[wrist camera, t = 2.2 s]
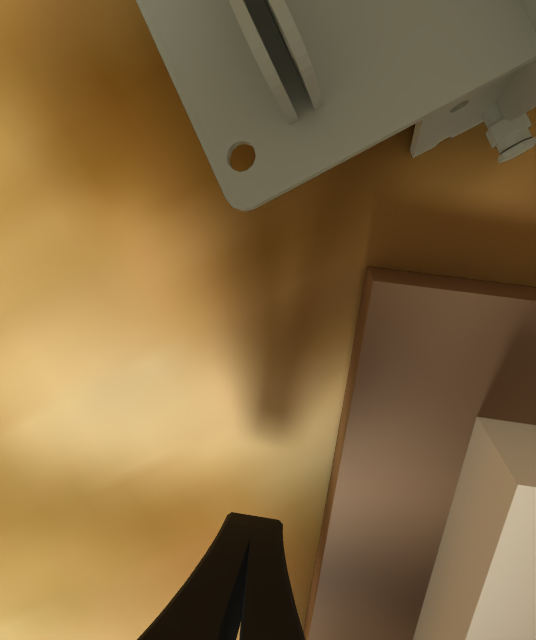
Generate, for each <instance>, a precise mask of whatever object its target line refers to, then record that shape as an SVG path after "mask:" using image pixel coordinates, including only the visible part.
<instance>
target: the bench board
mask: <svg viewBox="0 0 536 640" xmlns="http://www.w3.org/2000/svg"><path fill="white" fill-rule="evenodd" d="M476 417H482V418H489V419H496V420H503V421H510V422H517V423H524V424H531V425H536V287H528V286H520V285H512V284H504V283H496V282H488V281H479V280H471V279H463V278H455V277H447V276H439V275H430V274H422V273H414V272H406V271H398V270H390V269H382V268H373V267H367V272H366V277H365V283H364V289H363V295H362V300H361V306H360V312H359V317H358V323H357V329H356V334H355V340H354V346H353V352H352V357H351V363H350V369H349V374H348V380H347V386H346V391H345V397H344V403H343V409H342V414H341V420H340V426H339V431H338V437H337V443H336V448H335V454H334V460H333V466H332V471H331V477H330V483H329V488H328V494H327V500H326V505H325V511H324V517H323V523H322V528H321V534H320V540H319V545H318V551H317V557H316V562H315V568H314V574H313V580H312V585H311V591H310V597H309V602H308V608H307V614H306V619H305V625H304V631H303V633H304V636H305V639H306V640H413V637H414V634H415V630H416V627H417V623H418V620H419V616H420V613H421V609H422V606H423V602H424V599H425V595H426V592H427V588H428V585H429V581H430V578H431V574H432V571H433V568H434V564H435V561H436V557H437V554H438V550H439V547H440V543H441V540H442V536H443V533H444V529H445V526H446V522H447V519H448V515H449V512H450V508H451V505H452V501H453V498H454V494H455V491H456V487H457V484H458V480H459V477H460V473H461V470H462V466H463V463H464V459H465V456H466V452H467V449H468V445H469V442H470V438H471V435H472V431H473V428H474V424H475V421H476Z"/></svg>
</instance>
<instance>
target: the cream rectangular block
mask: <svg viewBox="0 0 536 640" xmlns="http://www.w3.org/2000/svg"><path fill="white" fill-rule="evenodd" d="M413 640H536V425H531V424H524V423H517V422H510V421H503V420H496V419H489V418H482V417H476V421H475V424H474V428H473V431H472V435H471V438H470V442H469V445H468V449H467V452H466V456H465V459H464V463H463V466H462V470H461V473H460V477H459V480H458V484H457V487H456V491H455V494H454V498H453V501H452V505H451V508H450V512H449V515H448V519H447V522H446V526H445V529H444V533H443V536H442V540H441V543H440V547H439V550H438V554H437V557H436V561H435V564H434V568H433V571H432V574H431V578H430V581H429V585H428V588H427V592H426V595H425V599H424V602H423V606H422V609H421V613H420V616H419V620H418V623H417V627H416V630H415V634H414V637H413Z"/></svg>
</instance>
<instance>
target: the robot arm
mask: <svg viewBox="0 0 536 640" xmlns="http://www.w3.org/2000/svg"><path fill="white" fill-rule="evenodd" d="M240 623H241V627H240V639H239V640H306V639H305V636H304V633H303V630H302V626H301V623H300V620H299V616H298V613H297V609H296V605H295V602H294V598H293V593H292V589H291V585H290V581H289V576H288V571H287V566H286V560H285V554H284V546H283V524H282V523H281V522H280V521H279V520H276V519H270V518H264V517H258V516H252V515H245V514H239V513H233V512H232V513H230V514H228V515H227V517H226V519H225V521H224V523H223V525H222V527H221V529H220V531H219V532H218V534H217V536H216V538H215V539H214V541H213V543H212V544H211V546H210V547H209V549H208V551H207V552H206V554H205V555H204V557H203V558H202V559H201V561H200V562H199V564H198V565H197V567H196V568H195V570H194V571H193V572H192V574H191V575H190V577H189V578H188V579H187V581H186V582H185V583H184V585H183V586H182V587H181V588H180V590H179V591H178V592H177V593H176V595H175V596H174V597H173V599H172V600H171V601H170V602H169V604H168V605H167V606H166V607H165V609H164V610H163V611H162V612H161V613H160V614H159V616H158V617H157V618H156V619H155V620H154V621H153V623H152V624H151V625H150V626H149V627H148V628H147V629H146V630H145V631H144V632H143V634H142V635H141V636H140V637H139V638H138V639H137V640H236V638H237V634H238V630H239V626H240Z"/></svg>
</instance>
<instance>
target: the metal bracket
mask: <svg viewBox="0 0 536 640" xmlns="http://www.w3.org/2000/svg"><path fill="white" fill-rule="evenodd" d="M136 2H137V4H138V6H139V8H140V10H141V13H142V15H143V17H144V19H145V22H146V24H147V26H148V28H149V30H150V33H151V35H152V37H153V39H154V41H155V44H156V46H157V48H158V50H159V52H160V55H161V57H162V59H163V61H164V64H165V66H166V68H167V70H168V72H169V75H170V77H171V79H172V81H173V83H174V86H175V88H176V90H177V92H178V94H179V97H180V99H181V101H182V103H183V106H184V108H185V110H186V112H187V114H188V117H189V119H190V121H191V123H192V125H193V128H194V130H195V132H196V134H197V136H198V139H199V141H200V143H201V145H202V147H203V150H204V152H205V154H206V156H207V159H208V161H209V163H210V165H211V167H212V170H213V172H214V174H215V176H216V178H217V181H218V183H219V185H220V187H221V189H222V192H223V194H224V196H225V198H226V200H227V201H228V202H229V204H230V205H231V206H232V207H233V208H235V209H238V210H241V211H244V212H245V211H250V210H254V209H256V208H258V207H260V206H262V205H264V204H265V203H267V202H269V201H271V200H273V199H275V198H277V197H279V196H281V195H282V194H284V193H286V192H288V191H290V190H292V189H294V188H296V187H297V186H299V185H301V184H303V183H305V182H307V181H309V180H311V179H312V178H314V177H316V176H318V175H320V174H322V173H324V172H326V171H327V170H329V169H331V168H333V167H335V166H337V165H339V164H341V163H342V162H344V161H346V160H348V159H350V158H352V157H354V156H356V155H358V154H359V153H361V152H363V151H365V150H367V149H369V148H371V147H373V146H374V145H376V144H378V143H380V142H382V141H384V140H386V139H388V138H389V137H391V136H393V135H395V134H397V133H399V132H401V131H403V130H404V129H406V128H408V127H410V126H412V125H414V124H416V125H415V129H414V134H413V139H412V143H411V148H410V152H411V155H412V157H413V158H414V157H416V156H418V155H420V154H422V153H424V152H426V151H428V150H430V149H432V148H434V147H436V146H437V144H438V143H439V142H441V141H442V140H444V139H446V138H448V137H451V138H453V137H455V136H457V135H459V134H461V133H463V132H465V131H467V130H469V129H471V128H473V127H475V126H476V125H478V124H480V123H482V122H485V124H486V126H487V129H488V130H487V132H486V133H485V135H486V137H487V139H488V141H489V143H490V145H491V147H492V148H495V147H497V149H498V152H499V154H500V156H499V157H498V158H497V160H498V162H499V164H500V163H502V162H505V161H507V160H510V159H512V158H515V157H516V156H518V155H520V154H522V153H524V152H525V151H527V150H529V149H531V148H533V147H534V146H535V145H536V137H533V138H532V135H531V133H530V131H529V128H530V127H531V126H532V124H531V121H530V119H529V117H528V115H527V113H526V112H528V111H530V110H531V109H533V108H535V107H536V0H136ZM243 144H247V145H251V146H252V147H253V148H254V149H255V155H256V158H255V161H254V163H253V165H252V166H251V167H250V168H249V169H248V170H246V171H242V172H238V171H235V170H234V169H233V168H232V167H231V163H230V157H231V154H232V151H233V150H234V149H235V148H236V147H237V146H239V145H243Z"/></svg>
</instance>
